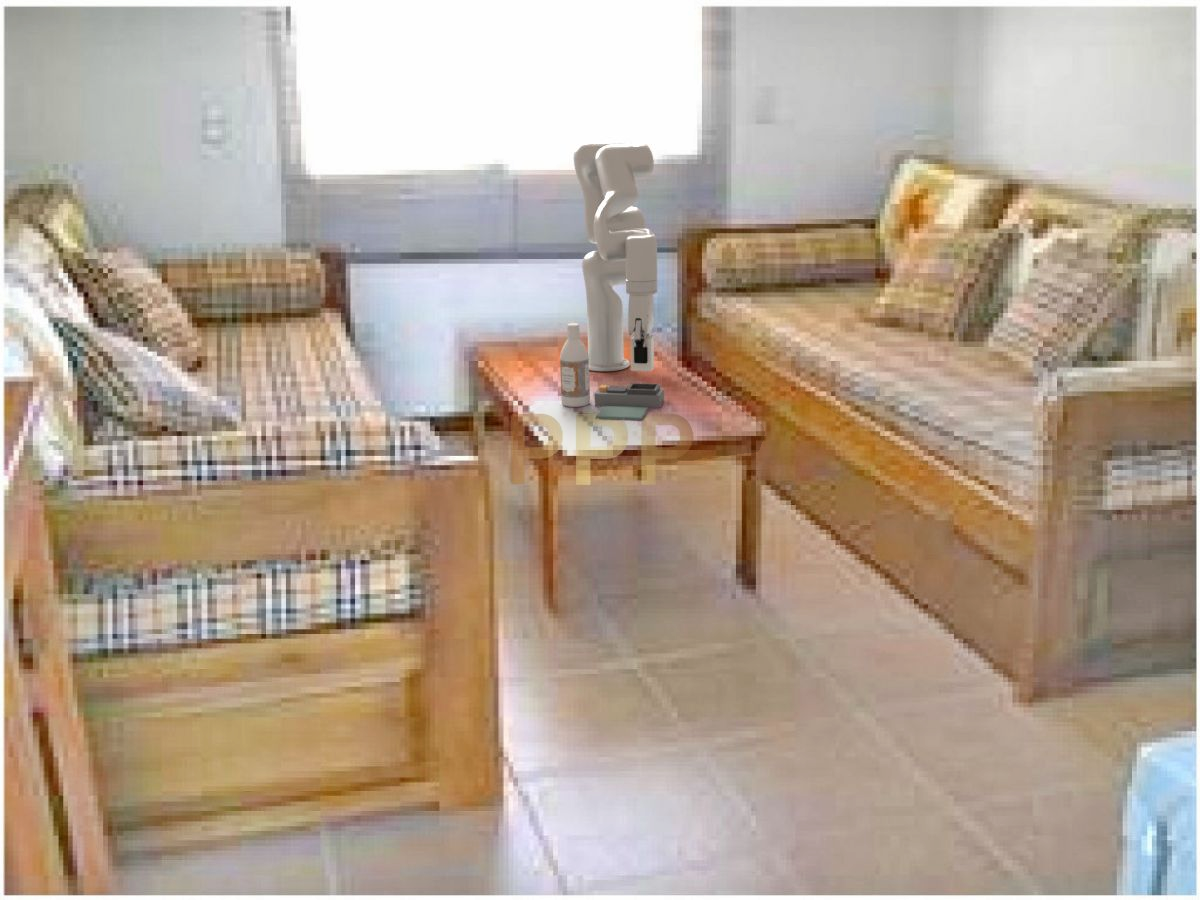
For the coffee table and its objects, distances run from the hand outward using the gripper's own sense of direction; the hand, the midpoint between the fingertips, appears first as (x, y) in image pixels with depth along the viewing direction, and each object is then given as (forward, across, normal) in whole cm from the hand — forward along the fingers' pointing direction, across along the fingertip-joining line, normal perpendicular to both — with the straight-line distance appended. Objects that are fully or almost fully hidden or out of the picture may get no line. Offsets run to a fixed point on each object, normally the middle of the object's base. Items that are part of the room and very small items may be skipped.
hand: (642, 359), depth 336 cm
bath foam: (+11, +3, -16) cm, 20 cm away
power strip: (+11, +1, -3) cm, 11 cm away
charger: (+2, 0, 0) cm, 2 cm away
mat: (+11, +11, -3) cm, 15 cm away
